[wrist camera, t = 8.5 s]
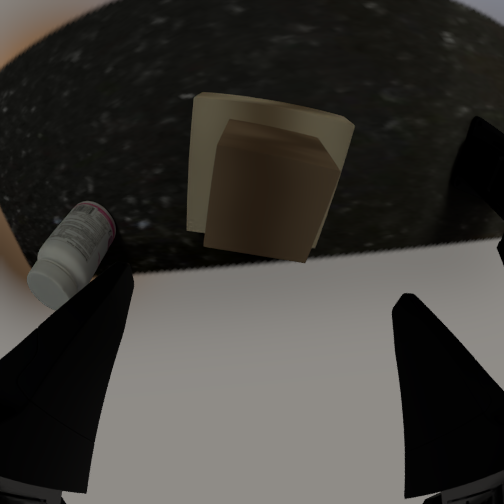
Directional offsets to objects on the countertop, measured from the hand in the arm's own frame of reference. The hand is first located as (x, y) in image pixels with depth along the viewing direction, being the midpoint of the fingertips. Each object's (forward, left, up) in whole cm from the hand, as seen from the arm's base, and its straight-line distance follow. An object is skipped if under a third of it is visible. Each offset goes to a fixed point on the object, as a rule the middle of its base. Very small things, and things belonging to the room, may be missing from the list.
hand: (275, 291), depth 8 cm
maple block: (0, +1, -13) cm, 13 cm away
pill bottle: (+14, +7, -12) cm, 20 cm away
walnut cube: (0, 0, -10) cm, 10 cm away
